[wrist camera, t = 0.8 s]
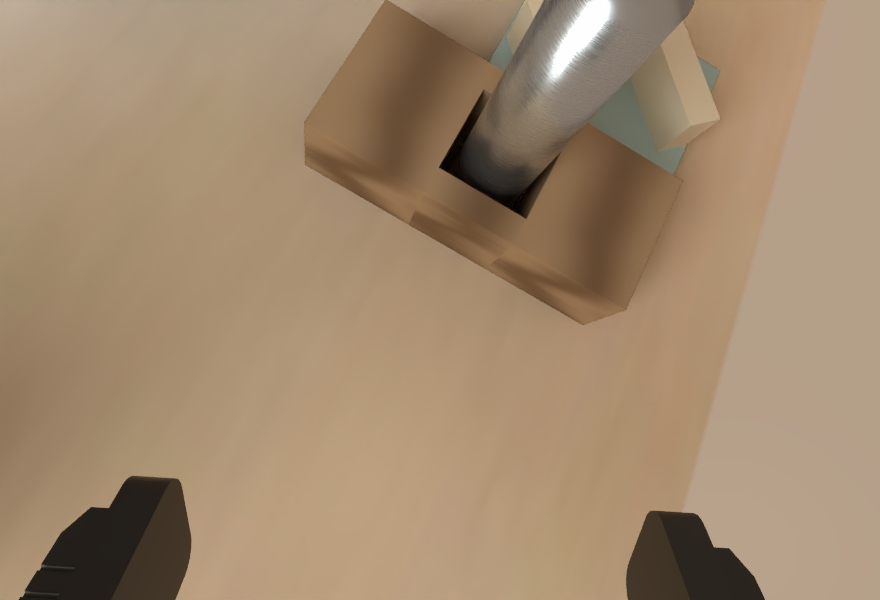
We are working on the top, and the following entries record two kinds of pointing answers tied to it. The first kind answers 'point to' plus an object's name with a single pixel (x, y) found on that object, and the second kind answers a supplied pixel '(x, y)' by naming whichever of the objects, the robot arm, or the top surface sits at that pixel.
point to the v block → (646, 95)
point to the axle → (559, 86)
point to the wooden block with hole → (468, 210)
